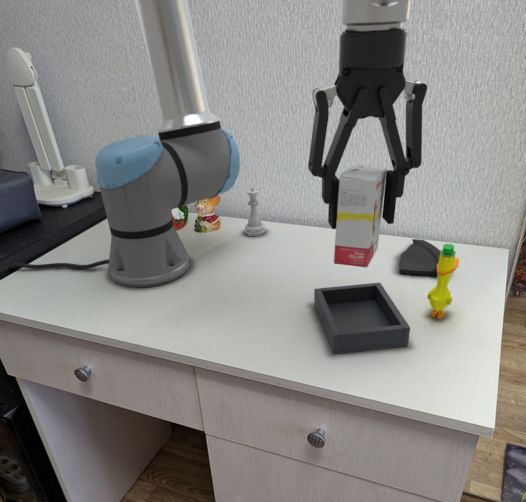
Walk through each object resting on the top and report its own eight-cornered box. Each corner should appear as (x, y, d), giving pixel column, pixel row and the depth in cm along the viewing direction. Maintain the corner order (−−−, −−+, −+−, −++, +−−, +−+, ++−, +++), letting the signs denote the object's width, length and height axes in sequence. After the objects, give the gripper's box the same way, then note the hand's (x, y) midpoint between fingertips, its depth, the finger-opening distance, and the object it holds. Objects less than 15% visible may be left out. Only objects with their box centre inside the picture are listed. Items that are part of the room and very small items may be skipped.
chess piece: (248, 228, 112) (245, 183, 106) (267, 229, 110) (265, 184, 105) (242, 235, 108) (239, 190, 102) (261, 237, 107) (259, 191, 101)
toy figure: (435, 302, 81) (448, 233, 74) (457, 308, 79) (472, 238, 72) (419, 320, 77) (430, 249, 70) (441, 327, 75) (455, 254, 68)
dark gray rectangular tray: (333, 354, 71) (333, 335, 69) (313, 306, 82) (314, 288, 80) (407, 346, 71) (410, 327, 69) (378, 299, 83) (380, 282, 81)
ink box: (367, 269, 67) (376, 179, 61) (332, 264, 68) (337, 176, 62) (379, 248, 74) (388, 165, 67) (347, 244, 75) (353, 163, 69)
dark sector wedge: (445, 248, 98) (446, 240, 97) (445, 278, 88) (446, 270, 87) (402, 244, 100) (403, 237, 99) (397, 274, 90) (398, 266, 89)
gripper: (291, 34, 52) (294, 239, 65) (474, 22, 53) (440, 226, 67) (281, 31, 58) (285, 219, 71) (445, 21, 59) (419, 207, 73)
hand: (360, 222), depth 69 cm, fingers open, 7 cm apart
